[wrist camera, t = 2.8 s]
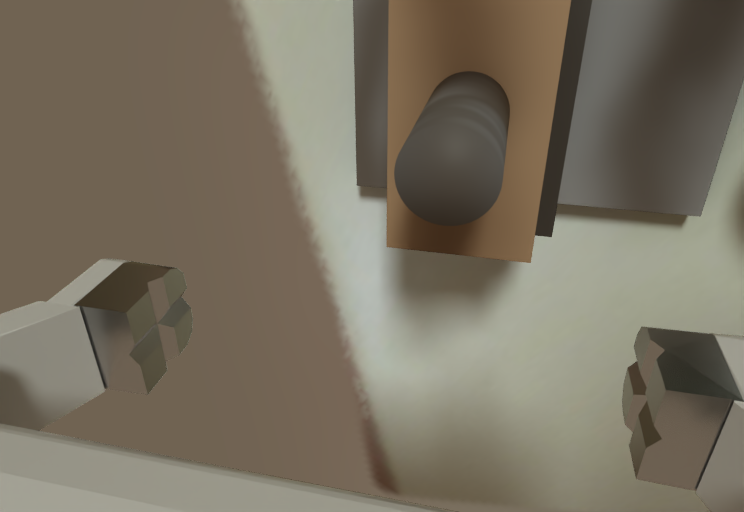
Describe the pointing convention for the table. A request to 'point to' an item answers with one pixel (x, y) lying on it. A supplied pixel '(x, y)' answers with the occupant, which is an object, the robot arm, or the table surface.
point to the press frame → (609, 101)
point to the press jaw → (479, 121)
